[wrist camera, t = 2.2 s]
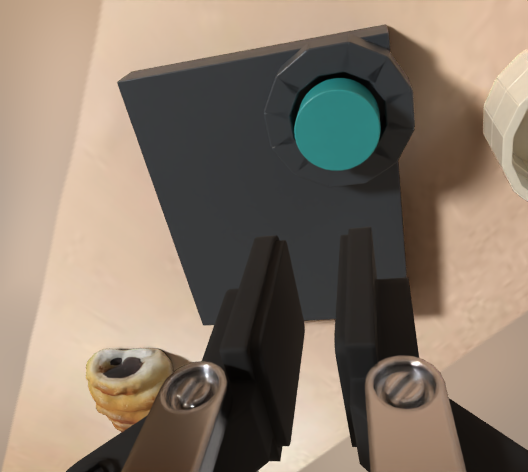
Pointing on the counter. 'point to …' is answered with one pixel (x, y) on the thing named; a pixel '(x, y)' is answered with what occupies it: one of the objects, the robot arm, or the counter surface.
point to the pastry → (126, 382)
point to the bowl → (510, 123)
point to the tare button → (337, 124)
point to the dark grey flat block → (270, 162)
